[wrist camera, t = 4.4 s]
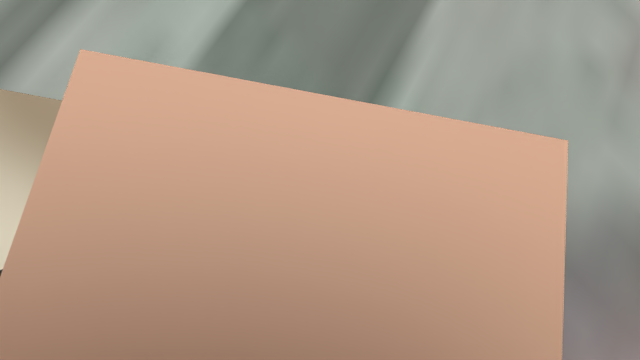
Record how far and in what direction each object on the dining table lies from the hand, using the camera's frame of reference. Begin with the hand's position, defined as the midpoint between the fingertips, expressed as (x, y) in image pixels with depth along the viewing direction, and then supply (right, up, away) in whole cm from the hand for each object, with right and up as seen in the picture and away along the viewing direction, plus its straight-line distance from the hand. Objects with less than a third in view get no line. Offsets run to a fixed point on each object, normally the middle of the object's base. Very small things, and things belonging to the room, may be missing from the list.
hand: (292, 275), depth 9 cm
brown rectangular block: (-1, -4, +6) cm, 7 cm away
